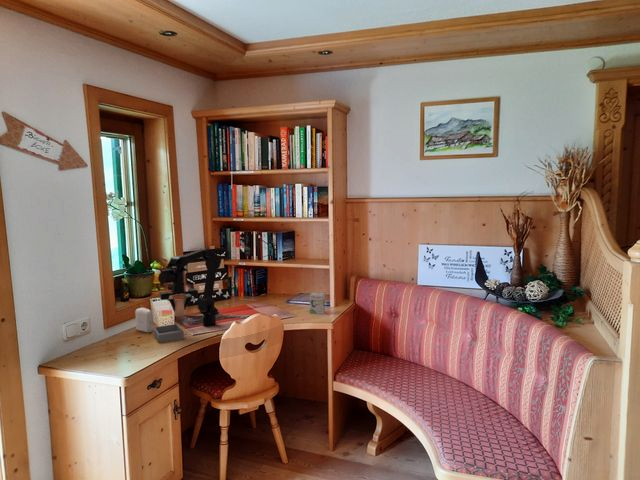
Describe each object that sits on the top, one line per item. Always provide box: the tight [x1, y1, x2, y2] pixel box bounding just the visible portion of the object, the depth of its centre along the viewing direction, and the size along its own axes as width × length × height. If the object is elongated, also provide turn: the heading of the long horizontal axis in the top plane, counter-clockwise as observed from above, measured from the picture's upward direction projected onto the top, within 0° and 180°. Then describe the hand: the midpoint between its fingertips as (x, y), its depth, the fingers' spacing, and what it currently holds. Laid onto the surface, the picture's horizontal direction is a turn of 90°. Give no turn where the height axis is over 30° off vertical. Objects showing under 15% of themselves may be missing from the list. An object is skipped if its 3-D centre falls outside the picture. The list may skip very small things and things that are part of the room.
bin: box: [153, 323, 185, 344], centre depth 239 cm, size 12×14×4 cm
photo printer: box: [134, 307, 154, 333], centre depth 249 cm, size 10×4×12 cm, turn 60°
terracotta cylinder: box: [173, 298, 186, 317], centre depth 240 cm, size 5×5×8 cm
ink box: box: [309, 292, 326, 315], centre depth 280 cm, size 9×5×12 cm, turn 73°
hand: (179, 310), depth 240 cm, fingers closed on terracotta cylinder, 5 cm apart
